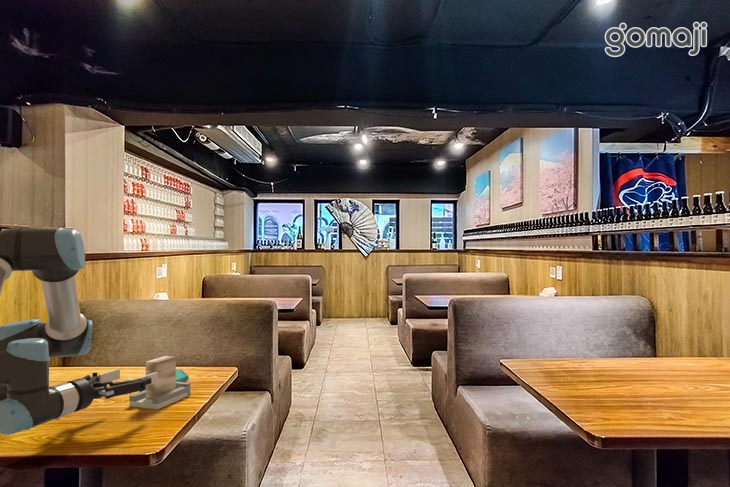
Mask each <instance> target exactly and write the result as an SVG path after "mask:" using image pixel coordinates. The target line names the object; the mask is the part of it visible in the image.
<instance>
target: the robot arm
mask: <svg viewBox="0 0 730 487" xmlns="http://www.w3.org/2000/svg"><path fill="white" fill-rule="evenodd" d="M85 264H86V251H85V245H84V241H83V237H82V235H81V233H80V232H79V231H78V230H77V229H73V228H63V227H59V228H21V227H20V228H19V227H14V228H13V227H12V228H7V229H3V230H0V295H2V290H3V286H4V283H5V282H6V280H8V279H9V278H10V277H11V275H12V273H13V272H18V271H20V272H24V271H25V272H26V271H28V272H30V271H31V272H32V274H33V276H34V277H35V278H36V279H37V280H39V281H40V283H41V288H42V291H43V292H42V293H43V296H44V302H45V306H46V307H45V308H46V311H47V317H48V320H47V321H46V322H42V320H41V319H40V318H32V319H26V320H19V321H14V322H13V321H12V322H8V323H5V324H2V325H0V434H2V435H6V436H7V435H14V434H17V433H21V432H24V431H29V430H30V429H32V428H34V427H35V428H36V427H37V426H38V427H39V426H40V425H42V424H45V423H48V422H51V421H53V420H56V421H60V419H61V417H64V416H67V415H70V414H73V413H76V412H77V413H78V412H79V411H82V410H85V409H88V408H89V406H91V405H92V403H93V401H94V400H97V399H101V398H103V397H104V399H106V400H108V399H111V398H115V397H118V396H123V395H129V394H135V393H138V392H142V391H144V390H146V386H148V385H151V384H154V383H156V382H158V372H154V373H151V374H148V375H146V374H145V375H142V376H140V377H137V378H138V379H137V378H136V379H137V380H134V379H128V380H129V381H125V380H123V381H119V382H116V381H117V380H119V379H120V378H121V369H120V368H116V369H113V370H110V371H107V372H106V371H105V372H103V373H100V374H98V372H97V371H96V372H92V376H91V375H89V374H87V375H85V376H83V377H80V378H76V379H72V380H69V381H65V382H61V383H59V384H55V385H52V386H50V361H51V358H53V359H54V358H63V357H64V358H65V357H66V358H67V357H78V356H82V355H86V354H88V353H89V352H90V350H91V343H92V334H93V320H91V319H87V318H86V317H85V316H84V314H82V313H81V310H80V302H79V301H80V300H79V294H78V286H77V279H76V276H77V275H78V273H79V272H80V270H82V269H83V268H84V267H85ZM113 381H114V382H115V383H113Z"/></svg>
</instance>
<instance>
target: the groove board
mask: <svg viewBox="0 0 730 487" xmlns="http://www.w3.org/2000/svg"><path fill="white" fill-rule="evenodd" d="M189 396H191V382H187V381H186V382H176V389H175V390H172V391H170V392H167V393H165V394H162V395H160V396H157V397H155V398H152V400H151V399H146V390H144V391H142V392H140V391H138V392H135V393H132V394H130V395H129V396H128V398H129V399H128V402H129V407H134V408H135V407H136V408H143V409H151V410H160V409H161V408H164V407H166V406H169V405H171V404H173V403H176V402H178V401H180V400H183V399H185V398H186V397H189Z"/></svg>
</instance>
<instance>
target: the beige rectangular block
mask: <svg viewBox="0 0 730 487" xmlns="http://www.w3.org/2000/svg"><path fill="white" fill-rule="evenodd" d="M176 360H177V359H176V356H170V355H164V356H161V357H157V358H153V359H151V360H147V361H145V375H148V374H151V373H154V372H158V382H156V383H154V384H151V385H148V386H146V399H151V400H152V398H155V397H157V396H160V395H162V394H165V393H167V392H170V391H172V390H175V389H176V369H177V368H176V367H177V363H176Z"/></svg>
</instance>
